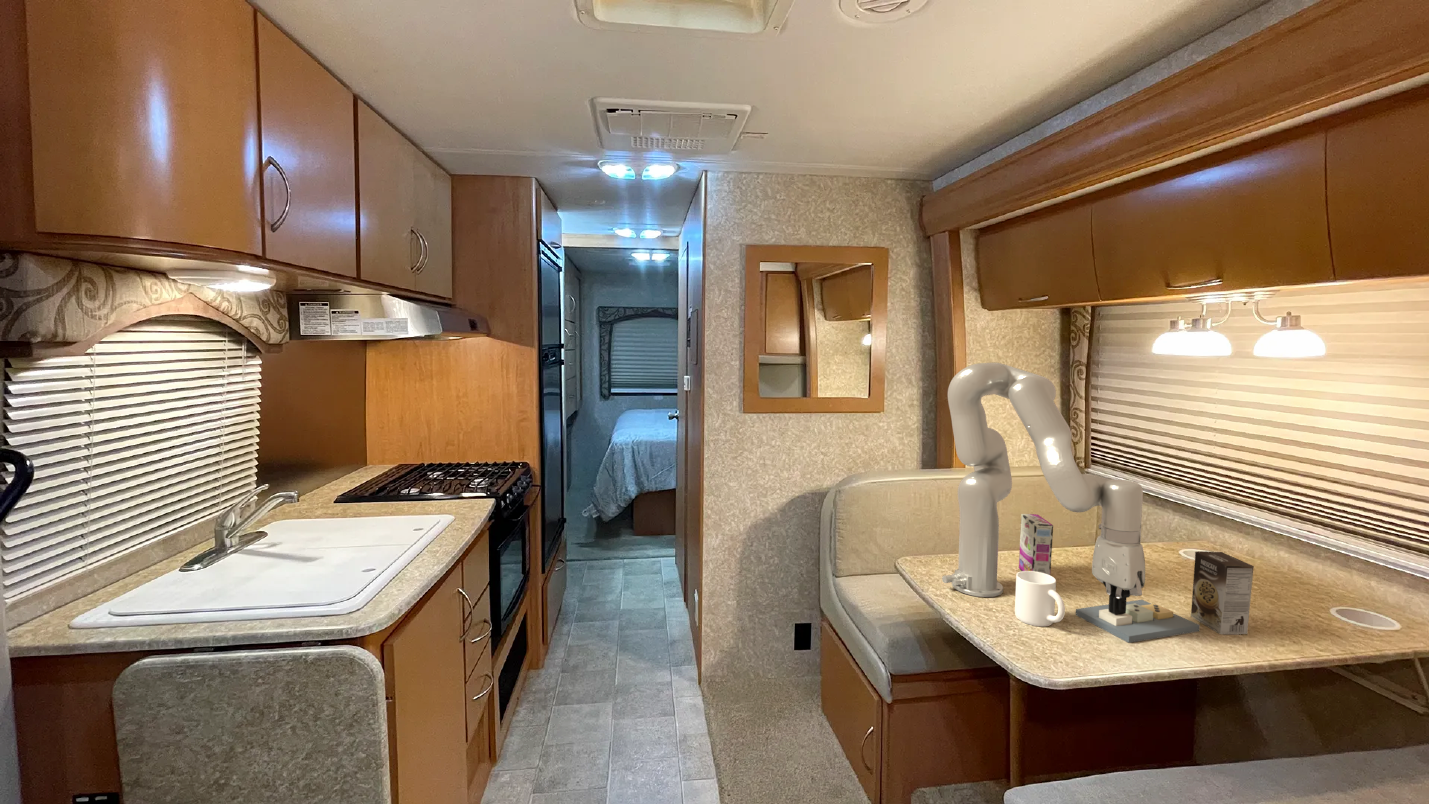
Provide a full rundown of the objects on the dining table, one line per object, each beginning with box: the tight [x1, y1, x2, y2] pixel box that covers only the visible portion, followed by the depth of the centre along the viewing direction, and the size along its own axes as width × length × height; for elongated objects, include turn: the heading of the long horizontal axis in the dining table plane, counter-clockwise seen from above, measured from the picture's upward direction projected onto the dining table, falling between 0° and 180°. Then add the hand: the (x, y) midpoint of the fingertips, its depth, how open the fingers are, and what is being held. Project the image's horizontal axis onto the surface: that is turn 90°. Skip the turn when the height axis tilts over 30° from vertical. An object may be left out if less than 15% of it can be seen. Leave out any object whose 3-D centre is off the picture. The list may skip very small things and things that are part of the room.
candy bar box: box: [1018, 513, 1054, 576], centre depth 168 cm, size 11×5×16 cm, turn 171°
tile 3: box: [1142, 603, 1174, 620], centre depth 142 cm, size 4×4×2 cm
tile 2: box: [1126, 603, 1153, 623], centre depth 140 cm, size 4×4×2 cm
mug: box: [1014, 570, 1066, 627], centre depth 140 cm, size 12×8×10 cm
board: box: [1075, 599, 1201, 644], centre depth 140 cm, size 20×14×2 cm
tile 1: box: [1099, 609, 1132, 626], centre depth 139 cm, size 4×4×2 cm
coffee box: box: [1190, 550, 1255, 636], centre depth 138 cm, size 9×6×16 cm
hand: (1117, 612), depth 138 cm, fingers closed
